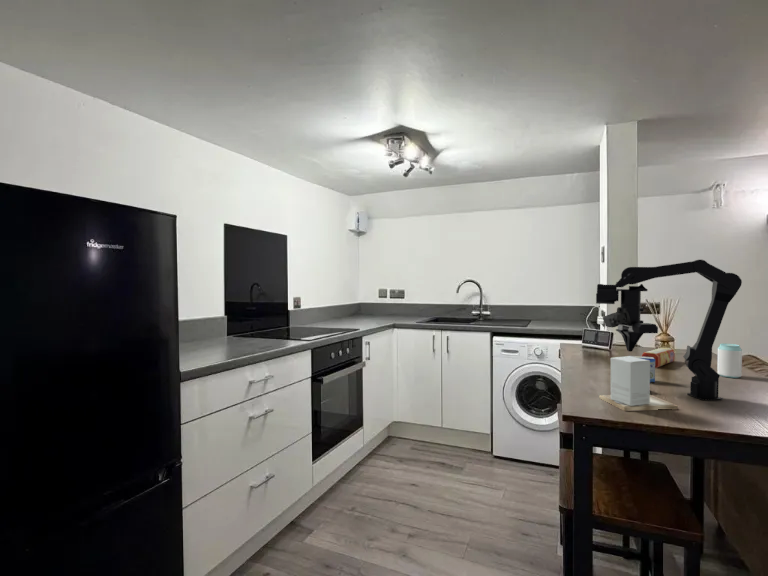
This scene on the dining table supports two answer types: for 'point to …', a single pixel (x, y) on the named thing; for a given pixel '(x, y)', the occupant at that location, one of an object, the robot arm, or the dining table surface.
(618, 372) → the supplement box
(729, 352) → the can
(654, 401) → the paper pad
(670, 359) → the snack package
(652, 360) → the medicine box
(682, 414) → the dining table surface
